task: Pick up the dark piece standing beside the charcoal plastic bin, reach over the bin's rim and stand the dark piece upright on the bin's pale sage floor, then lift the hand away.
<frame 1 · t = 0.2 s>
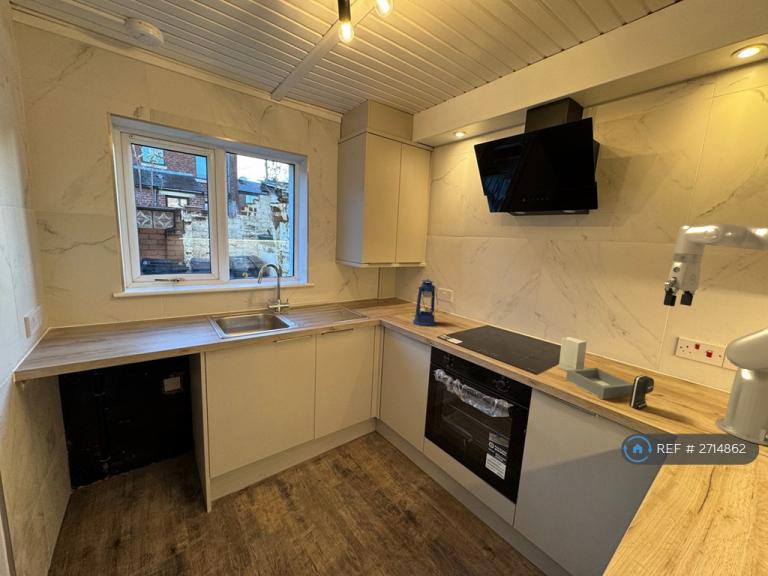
hand: (677, 305, 114), 36 cm above the counter, tool pointing down, fingers open, 9 cm apart
lantern: (424, 323, 207), on the counter
bin: (598, 387, 124), on the counter
dark piece: (639, 407, 110), on the counter
skincare box: (569, 371, 140), on the counter
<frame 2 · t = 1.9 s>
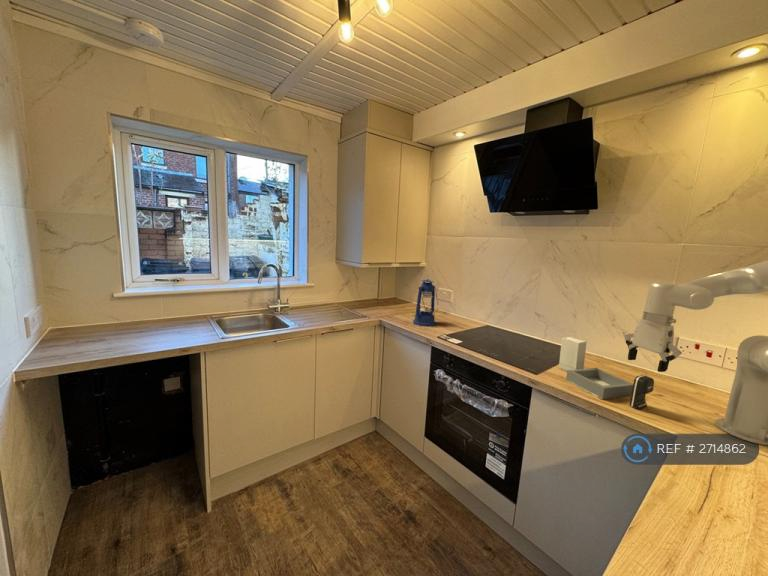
hand: (645, 365, 108), 16 cm above the counter, tool pointing down, fingers open, 9 cm apart
nothing on the counter moved.
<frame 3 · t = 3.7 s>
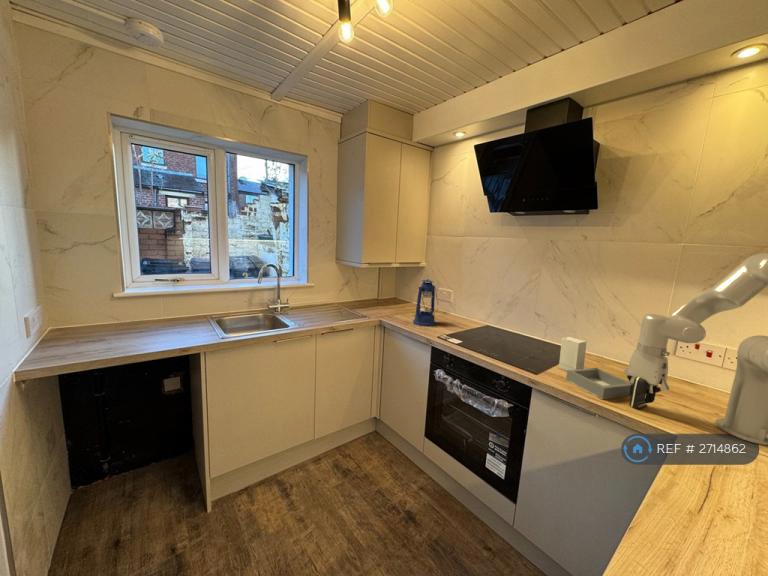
hand: (641, 398, 110), 3 cm above the counter, tool pointing down, fingers closed on dark piece, 4 cm apart
dark piece: (639, 407, 110), on the counter, touching gripper
everything else where it was.
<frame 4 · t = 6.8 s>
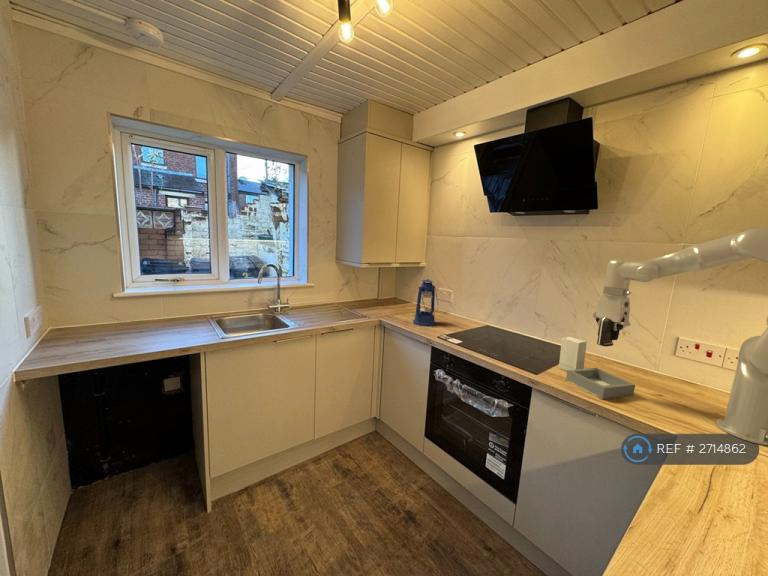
hand: (607, 337, 120), 21 cm above the counter, tool pointing down, fingers closed on dark piece, 4 cm apart
dark piece: (606, 346, 121), point 18 cm above the counter, touching gripper
everything else where it was.
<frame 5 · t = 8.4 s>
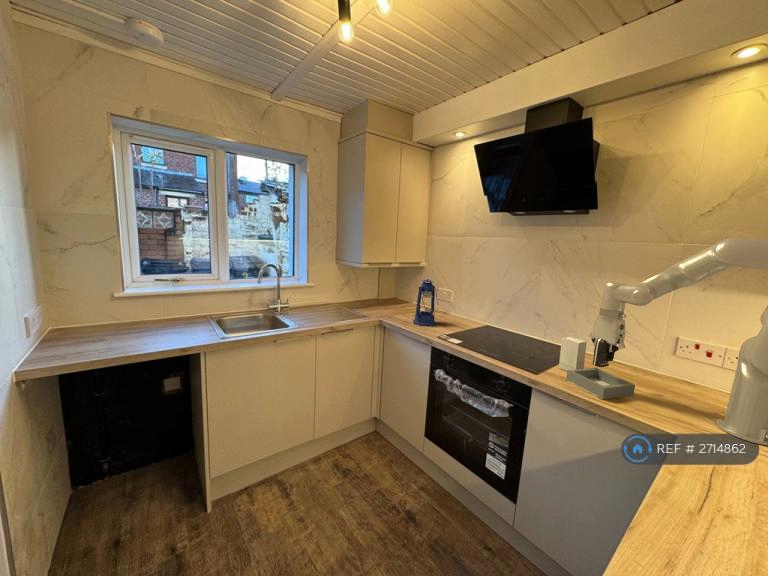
hand: (602, 358, 122), 13 cm above the counter, tool pointing down, fingers closed on dark piece, 4 cm apart
dark piece: (601, 366, 122), point 9 cm above the counter, touching gripper
everything else where it was.
when the fingers open (6 cm above the counter, at t = 10.0 s): dark piece drops 2 cm, resting on bin.
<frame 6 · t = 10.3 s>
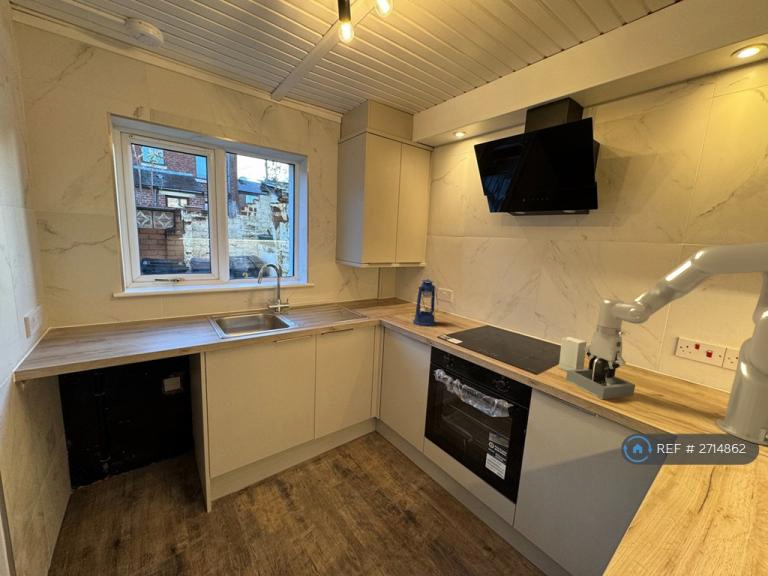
hand: (600, 373, 123), 6 cm above the counter, tool pointing down, fingers open, 7 cm apart
dark piece: (599, 387, 123), resting on bin
everything else where it was.
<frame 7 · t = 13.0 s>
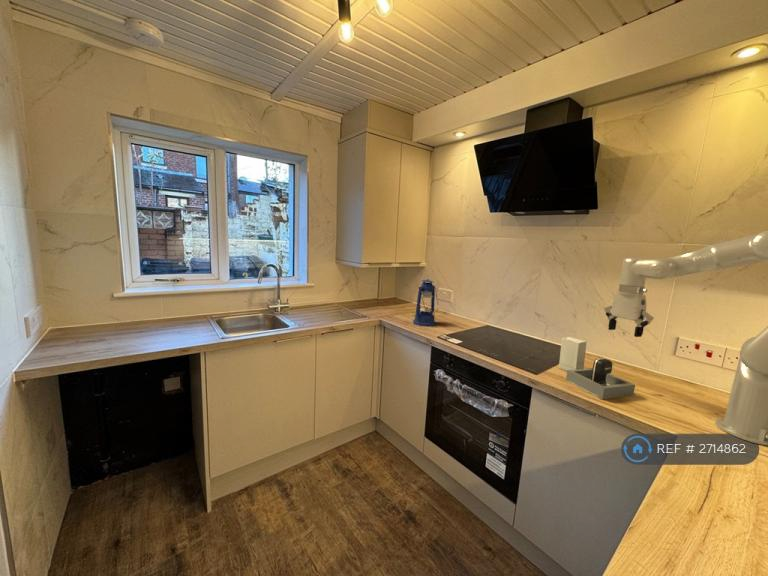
hand: (624, 333, 120), 23 cm above the counter, tool pointing down, fingers open, 9 cm apart
nothing on the counter moved.
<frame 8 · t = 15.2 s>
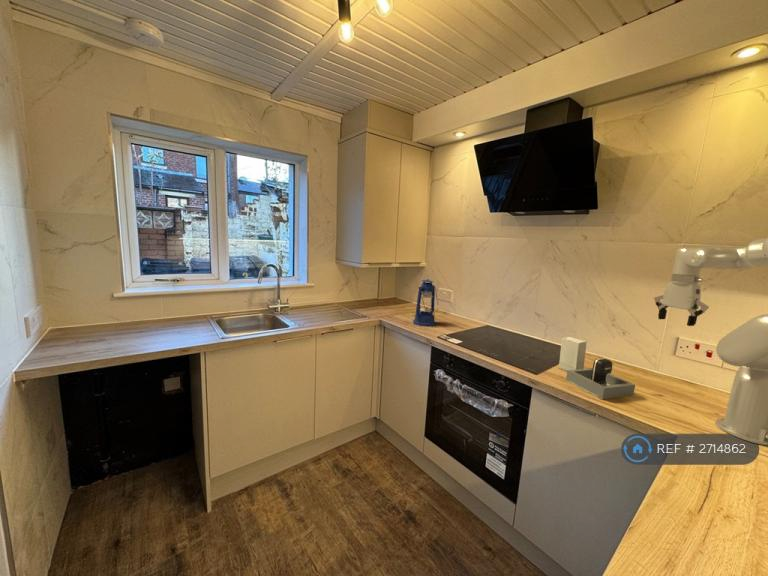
hand: (675, 322, 122), 28 cm above the counter, tool pointing down, fingers open, 9 cm apart
nothing on the counter moved.
at the end: dark piece inside the target area on the bin (0.4 cm from its centre), point 0.4 cm above the bin's base; dark piece tilted 0°; the gripper is holding nothing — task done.
